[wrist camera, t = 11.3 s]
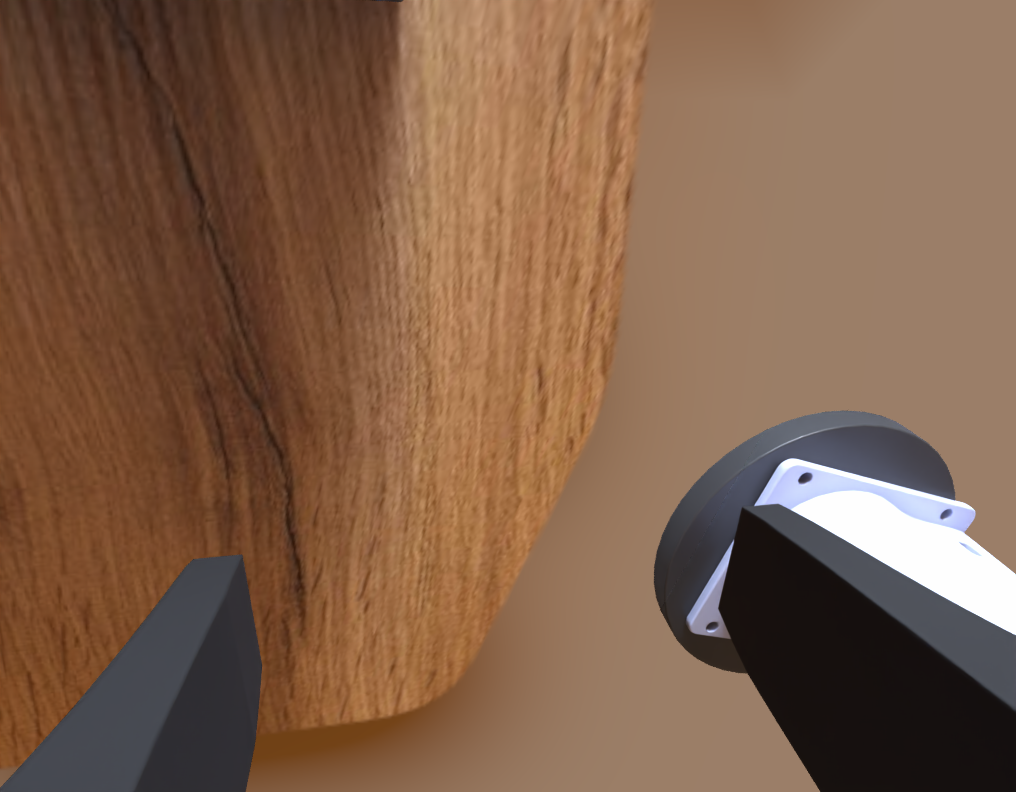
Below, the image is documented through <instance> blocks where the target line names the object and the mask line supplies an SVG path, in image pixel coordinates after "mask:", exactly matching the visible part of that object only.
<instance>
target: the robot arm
mask: <svg viewBox="0 0 1016 792" xmlns="http://www.w3.org/2000/svg"><path fill="white" fill-rule="evenodd" d="M804 473H805V474H804ZM802 474H804V475H803V476H802V477H801V478H799V477H800V476H801V475H802ZM974 518H975V510H974V509H973V508H971V507H970V506H969V505H967V504H965V503H962V502H958V501H954V500H950V499H947V498H943V497H939V496H935V495H931V494H928V493H924V492H920V491H916V490H912V489H909V488H905V487H901V486H897V485H893V484H890V483H886V482H882V481H878V480H875V479H871V478H867V477H863V476H859V475H856V474H852V473H848V472H844V471H840V470H837V469H833V468H829V467H825V466H821V465H818V464H814V463H810V462H806V461H802V460H799V459H788V460H785V461H783V462H782V463H781V464H780V465H779V466H778V467H777V469H776V471H775V472H774V474H773V476H772V477H771V479H770V480H769V482H768V484H767V485H766V487H765V489H764V490H763V492H762V494H761V495H760V497H759V499H758V500H757V502H756V504H755V505H754V506H747V507H742V509H741V513H740V517H739V522H738V526H737V530H736V534H735V538H734V540H733V542H732V543H731V545H730V547H729V548H728V550H727V552H726V553H725V555H724V557H723V558H722V560H721V562H720V563H719V565H718V567H717V568H716V570H715V572H714V573H713V575H712V577H711V578H710V580H709V582H708V583H707V585H706V586H705V588H704V590H703V591H702V593H701V595H700V596H699V598H698V600H697V601H696V603H695V605H694V606H693V608H692V610H691V611H690V613H689V615H688V616H687V619H686V625H687V627H688V628H689V630H690V631H691V632H692V633H694V634H700V635H707V636H714V637H720V638H727V639H731V640H732V642H733V644H734V646H735V648H736V651H737V653H738V655H739V657H740V659H741V661H742V663H743V665H744V667H745V670H746V671H747V673H748V675H749V676H750V678H751V680H752V681H753V683H754V685H755V687H756V688H757V690H758V691H759V693H760V695H761V696H762V698H763V700H764V701H765V703H766V705H767V706H768V708H769V709H770V711H771V713H772V715H773V716H774V717H775V719H776V721H777V723H778V724H779V726H780V727H781V729H782V731H783V732H784V734H785V736H786V737H787V739H788V740H789V742H790V744H791V745H792V747H793V748H794V750H795V751H796V753H797V755H798V756H799V758H800V760H801V761H802V763H803V764H804V766H805V768H806V769H807V771H808V773H809V774H810V776H811V777H812V779H813V781H814V782H815V783H816V785H817V787H818V789H819V790H820V792H1016V574H1015V573H1013V572H1012V571H1011V570H1010V569H1008V568H1007V567H1006V566H1005V565H1003V564H1002V563H1001V562H1000V561H998V560H997V559H996V558H995V557H993V556H992V555H991V554H989V553H988V552H987V551H986V550H984V549H983V548H982V547H980V546H979V545H978V544H977V543H976V542H974V541H973V540H972V539H971V538H969V537H968V536H967V535H966V534H964V532H965V531H966V529H967V528H968V527H969V525H970V524H971V523H972V521H973V520H974ZM261 674H262V662H261V656H260V651H259V645H258V640H257V634H256V628H255V623H254V617H253V612H252V606H251V600H250V595H249V589H248V584H247V578H246V572H245V567H244V561H243V556H242V555H232V556H221V557H211V558H200V559H193V560H192V561H191V562H190V563H189V564H188V565H187V566H186V567H185V568H184V569H183V571H182V572H181V573H180V575H179V576H178V577H177V579H176V580H175V581H174V582H173V584H172V585H171V586H170V588H169V589H168V590H167V592H166V593H165V594H164V596H163V597H162V598H161V600H160V601H159V602H158V604H157V605H156V606H155V607H154V609H153V610H152V611H151V613H150V614H149V615H148V616H147V618H146V619H145V620H144V622H143V623H142V624H141V625H140V627H139V628H138V629H137V630H136V632H135V633H134V634H133V636H132V637H131V638H130V639H129V641H128V642H127V643H126V644H125V646H124V647H123V648H122V649H121V651H120V652H119V653H118V654H117V655H116V657H115V658H114V659H113V660H112V661H111V663H110V664H109V665H108V666H107V667H106V669H105V670H104V671H103V672H102V674H101V675H100V676H99V677H98V678H97V680H96V681H95V682H94V683H93V684H92V686H91V687H90V688H89V689H88V690H87V692H86V693H85V694H84V695H83V696H82V698H81V699H80V700H79V701H78V702H77V703H76V705H75V706H74V707H73V708H72V709H71V710H70V712H69V713H68V714H67V715H66V716H65V717H64V718H63V719H62V720H61V722H60V723H59V724H58V725H57V726H56V727H55V728H54V729H53V730H52V732H51V733H50V734H49V735H48V736H47V737H46V738H45V739H44V740H43V742H42V743H41V744H40V745H39V746H38V747H37V748H36V749H35V750H34V752H33V753H32V754H31V755H30V756H29V757H28V758H27V759H26V760H25V762H24V763H23V764H22V765H21V766H20V767H19V768H18V769H17V770H16V772H15V773H14V774H13V775H12V776H11V777H10V778H9V779H8V780H7V781H6V782H5V783H4V784H3V786H1V788H0V792H245V791H246V787H247V782H248V776H249V772H250V767H251V762H252V757H253V751H254V746H255V740H256V730H257V720H258V709H259V698H260V686H261Z"/></svg>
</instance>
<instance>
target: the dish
mask: <svg viewBox="0 0 1016 792" xmlns="http://www.w3.org/2000/svg"><path fill="white" fill-rule="evenodd" d="M374 1H391V2H401V1H403V0H374Z"/></svg>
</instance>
